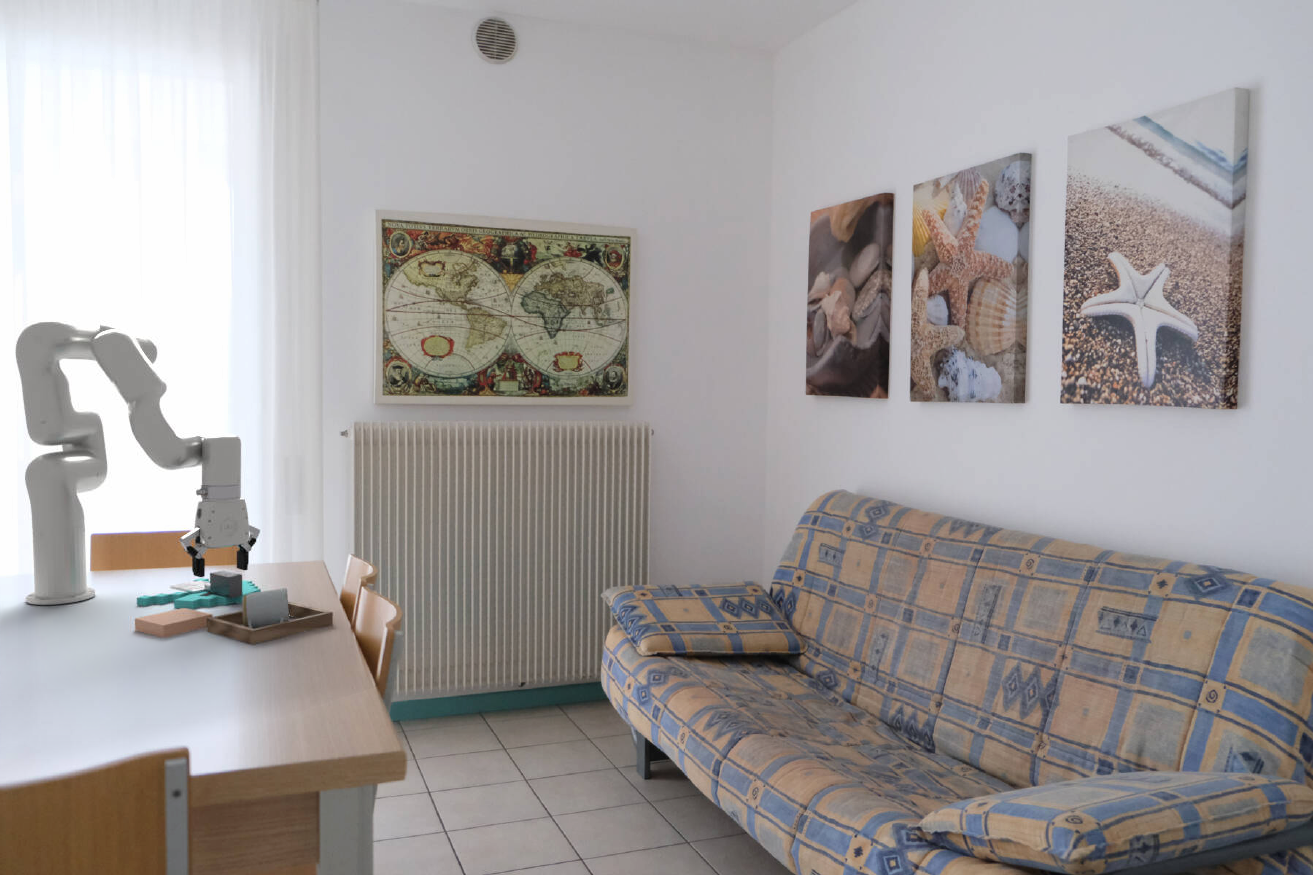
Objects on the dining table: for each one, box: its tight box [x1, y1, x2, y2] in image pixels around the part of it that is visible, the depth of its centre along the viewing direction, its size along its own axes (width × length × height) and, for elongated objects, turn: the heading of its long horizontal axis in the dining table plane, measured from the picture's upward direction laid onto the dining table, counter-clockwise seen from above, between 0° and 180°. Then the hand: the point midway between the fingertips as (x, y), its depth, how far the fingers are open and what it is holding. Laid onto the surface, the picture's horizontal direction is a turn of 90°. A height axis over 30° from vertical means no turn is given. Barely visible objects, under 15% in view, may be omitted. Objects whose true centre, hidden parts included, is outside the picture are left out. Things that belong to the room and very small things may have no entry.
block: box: [134, 608, 214, 638], centre depth 183 cm, size 3×10×9 cm
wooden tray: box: [206, 601, 334, 645], centre depth 183 cm, size 15×17×2 cm
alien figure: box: [136, 577, 262, 610], centre depth 208 cm, size 20×2×20 cm
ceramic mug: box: [241, 587, 290, 629], centre depth 181 cm, size 11×8×8 cm
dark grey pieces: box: [170, 570, 243, 598], centre depth 207 cm, size 19×7×4 cm, turn 56°
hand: (220, 572), depth 203 cm, fingers open, 9 cm apart
